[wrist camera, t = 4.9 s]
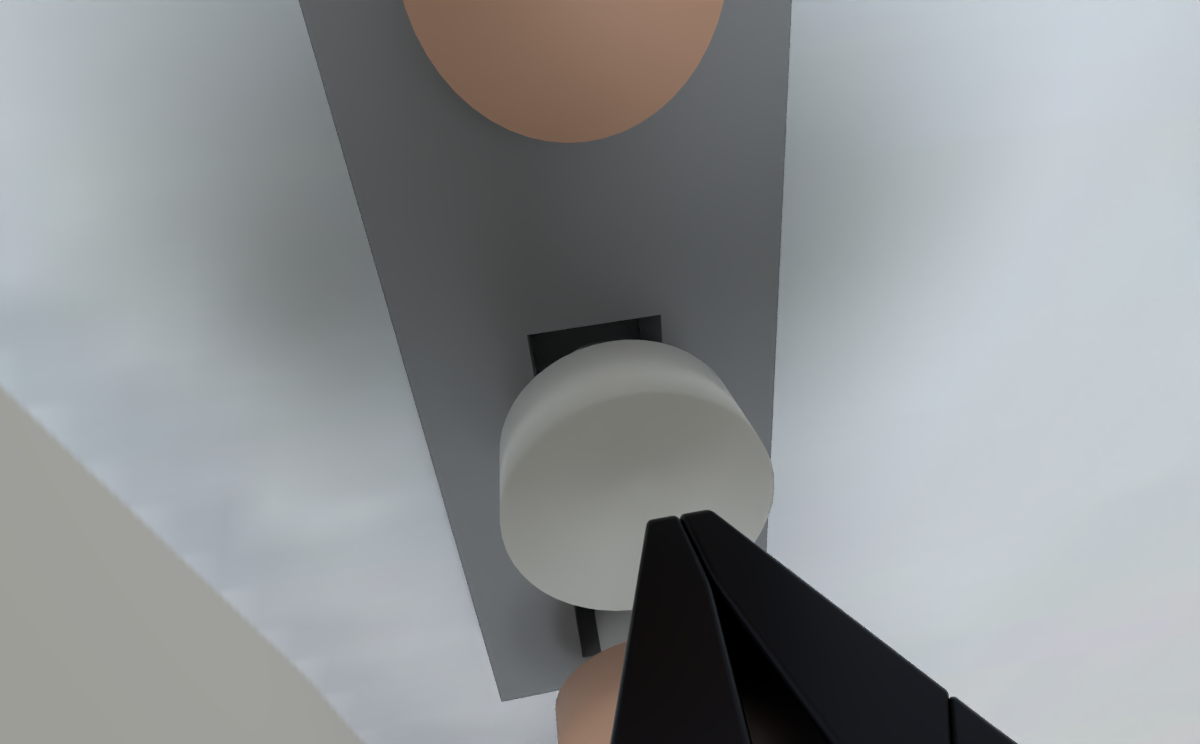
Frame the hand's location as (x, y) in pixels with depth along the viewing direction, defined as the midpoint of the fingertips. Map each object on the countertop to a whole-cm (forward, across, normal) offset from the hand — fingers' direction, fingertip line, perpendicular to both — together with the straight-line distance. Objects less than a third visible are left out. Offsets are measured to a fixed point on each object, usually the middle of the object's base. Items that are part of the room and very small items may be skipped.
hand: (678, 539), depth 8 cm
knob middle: (+8, 0, +2) cm, 8 cm away
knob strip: (+10, 0, +2) cm, 11 cm away
